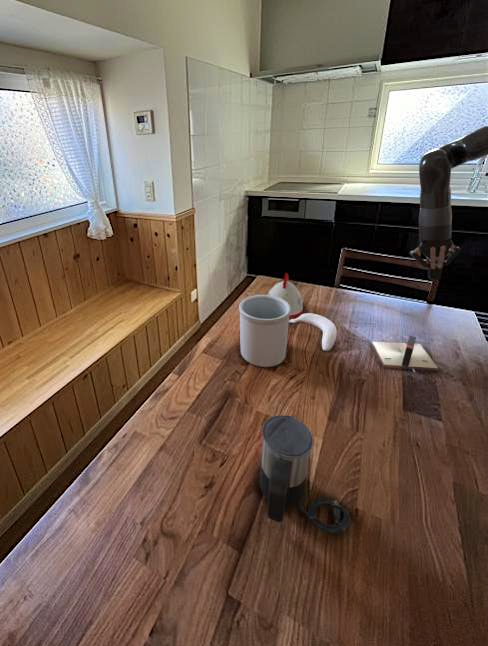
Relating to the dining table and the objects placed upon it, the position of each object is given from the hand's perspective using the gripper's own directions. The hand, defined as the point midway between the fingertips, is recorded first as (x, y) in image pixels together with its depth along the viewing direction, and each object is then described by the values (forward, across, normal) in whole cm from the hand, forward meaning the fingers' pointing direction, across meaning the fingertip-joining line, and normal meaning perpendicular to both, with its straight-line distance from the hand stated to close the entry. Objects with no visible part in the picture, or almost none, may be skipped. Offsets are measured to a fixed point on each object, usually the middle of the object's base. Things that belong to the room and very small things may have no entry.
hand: (434, 279), depth 100 cm
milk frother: (+22, -45, -55) cm, 75 cm away
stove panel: (+21, -12, -10) cm, 26 cm away
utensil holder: (+15, -52, -12) cm, 56 cm away
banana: (+16, -36, 0) cm, 39 cm away
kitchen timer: (+13, -44, +16) cm, 49 cm away
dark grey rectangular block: (+20, -12, -11) cm, 25 cm away
